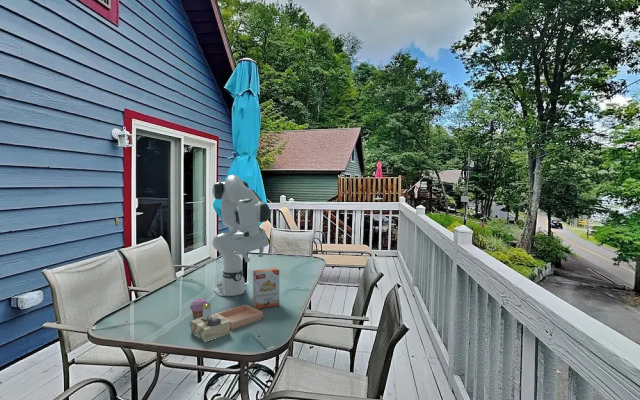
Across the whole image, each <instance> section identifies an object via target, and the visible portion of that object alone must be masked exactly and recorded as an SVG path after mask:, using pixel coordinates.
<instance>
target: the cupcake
mask: <svg viewBox="0 0 640 400" xmlns="http://www.w3.org/2000/svg"><path fill="white" fill-rule="evenodd" d="M206 303H209V302H208V301H207V300H206V299H204V298H201V297H200V298H199V297H198V298H196V299H194V300H193V301H192V302H191V303H190V305H189V308H190V310H191V313H192V318H193V319H194V318H197V319H198V318H201V317H203V304H206Z"/></svg>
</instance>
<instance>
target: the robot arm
mask: <svg viewBox="0 0 640 400" xmlns="http://www.w3.org/2000/svg"><path fill="white" fill-rule="evenodd" d="M211 189H212V190H211V192H212V195H213V197H214V199H216V200H221V201H220V209H221V210H220V212H221V222H222V224H223V225H224V226H226V227H228V228H229V232H221V233H219V234H217V235H215V236H214V237H213V239H212V246H213V248H214V250H215V251H216V252H219V253H220V255H221V258H222V259H223V271H222V277H220V278H219V279H218V280H217V282H216V287H214V288H213V289H212V290H213V291H214V292H215V293H216V294H217V295H218V296H219V297H224V296H225V297H230V296H231V297H234V296H239V295H242V294H244V293H246V291H247V287H246V286H245V285H246V283H245V277H244V275H243V274H244V272H243V262H242V261H243V260H242V258H241V256H242V257H243V259H244V262H245V263H248V262H251V259H250V257H248V253H250V252H254V251H256V250H258V251H259V253H258V254H257V255H258V258H262V257H264V250H265V248H266V247H268V246H269V239H268V235H267V233H266V230H265V229H263V228H260V227H259V223H266V222H267V221H268V220H269V219H270V217H271V215H272V214H271V209H270V206H269V205H268V204H267V203H266V202H264V200H262V198H261V197H260V196H259V195H258V194H257V192H256V191H255V190H254V189H252V188H250V186H249V183H248V182H247V181H246V180H245V181H244V180H242V178H240V177H239V176H238V175H236V174H231V175H228V176H227V177H226V179H225V180H224V181H219V182H216V183H214V184H213V185H212V188H211ZM240 255H241V256H240Z"/></svg>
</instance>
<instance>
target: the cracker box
mask: <svg viewBox="0 0 640 400" xmlns="http://www.w3.org/2000/svg"><path fill="white" fill-rule="evenodd" d="M252 285H253V286H252V300H253V301H252V302H253V304H252V305H253V308H255V309H257V310H261V309H266V308H272V307H279V306H280V269H278V268H277V267H272V268H262V269H254V270H252Z"/></svg>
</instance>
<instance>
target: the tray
mask: <svg viewBox="0 0 640 400" xmlns="http://www.w3.org/2000/svg"><path fill="white" fill-rule="evenodd" d="M215 314H217V315H219V316H221V317H222V318H224V319H226V320H228V321H230V331H231V330H232V331H234V330H236V329H239V328H241V327H245V326H248V325H249V324H252V323H255V322H258V321H260V320H264V312H263V311H261V310H260V309H255V308H254V306H253V307H252V306H250V305H247V304H242V305H239V306H237V307H236V306H235V307H233V308H229V309H226V310H223V311H220V312H216V313H215ZM233 329H234V330H233Z"/></svg>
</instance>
